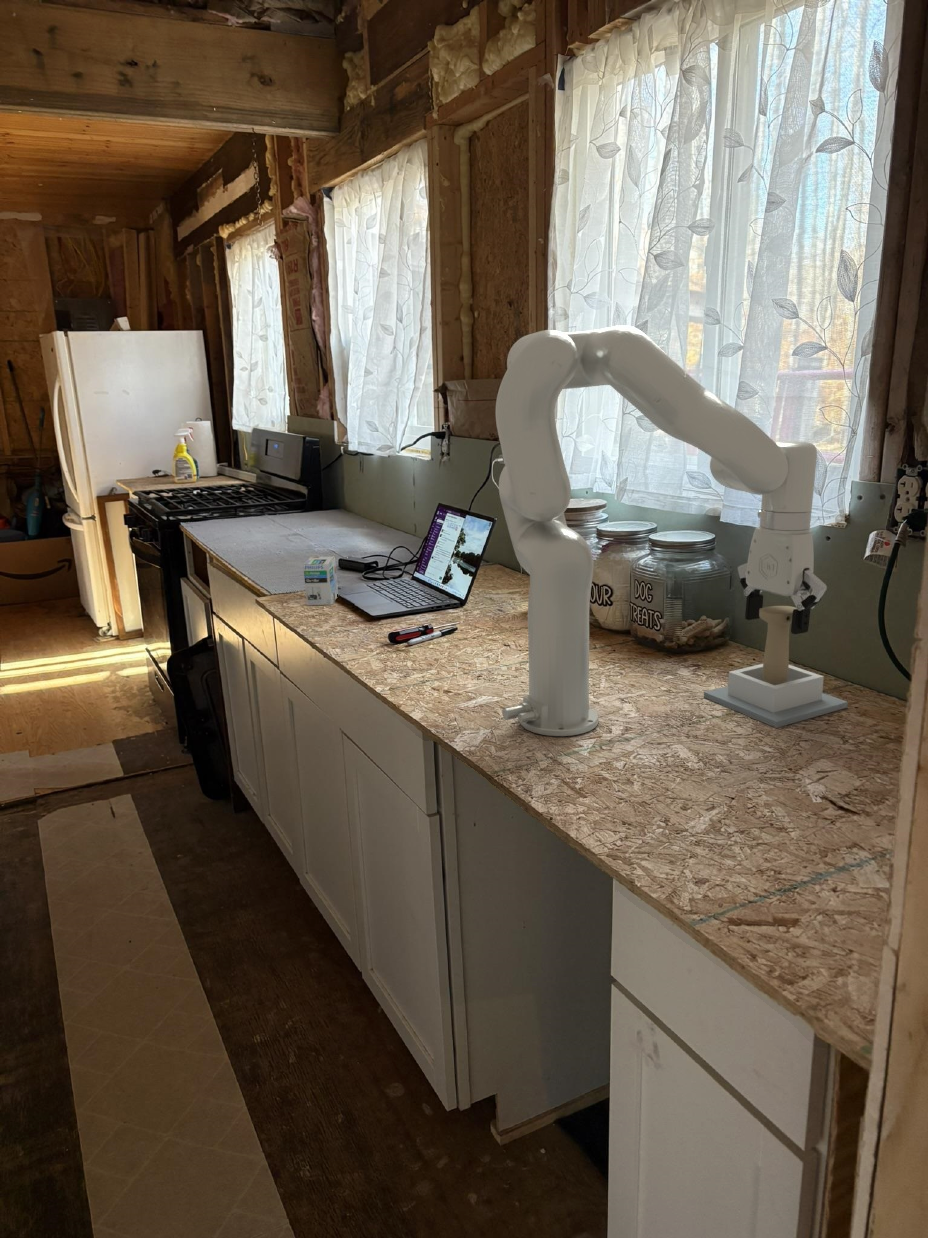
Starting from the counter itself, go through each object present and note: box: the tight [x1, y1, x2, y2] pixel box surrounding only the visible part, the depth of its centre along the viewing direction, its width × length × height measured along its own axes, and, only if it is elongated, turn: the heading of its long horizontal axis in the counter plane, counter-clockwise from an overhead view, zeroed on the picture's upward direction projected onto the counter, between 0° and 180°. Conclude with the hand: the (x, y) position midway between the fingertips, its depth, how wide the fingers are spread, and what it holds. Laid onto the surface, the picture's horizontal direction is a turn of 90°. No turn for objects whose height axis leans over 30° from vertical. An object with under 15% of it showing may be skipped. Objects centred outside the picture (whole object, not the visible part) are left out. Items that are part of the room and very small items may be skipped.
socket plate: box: [703, 663, 849, 729], centre depth 145 cm, size 16×16×5 cm
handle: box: [759, 605, 797, 685], centre depth 143 cm, size 5×6×15 cm
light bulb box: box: [303, 555, 339, 606], centre depth 223 cm, size 11×7×11 cm, turn 179°
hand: (775, 625), depth 142 cm, fingers open, 9 cm apart
